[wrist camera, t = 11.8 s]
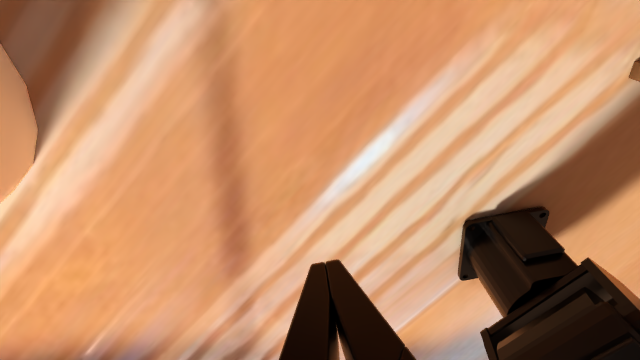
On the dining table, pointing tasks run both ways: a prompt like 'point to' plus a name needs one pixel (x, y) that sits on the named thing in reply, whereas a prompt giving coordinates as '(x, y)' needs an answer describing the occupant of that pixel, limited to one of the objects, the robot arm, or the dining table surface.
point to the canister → (14, 127)
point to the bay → (635, 71)
